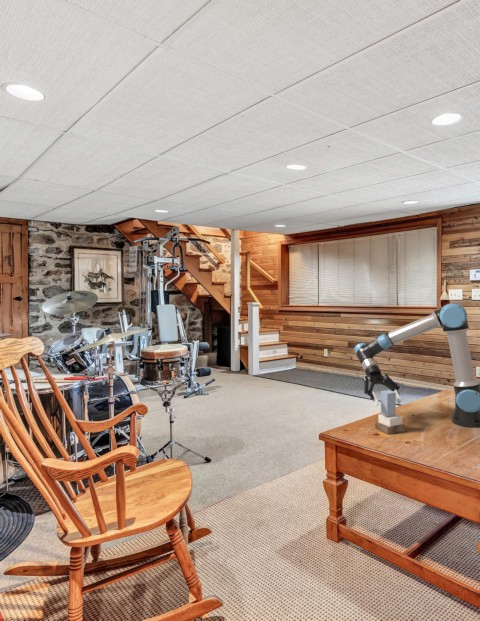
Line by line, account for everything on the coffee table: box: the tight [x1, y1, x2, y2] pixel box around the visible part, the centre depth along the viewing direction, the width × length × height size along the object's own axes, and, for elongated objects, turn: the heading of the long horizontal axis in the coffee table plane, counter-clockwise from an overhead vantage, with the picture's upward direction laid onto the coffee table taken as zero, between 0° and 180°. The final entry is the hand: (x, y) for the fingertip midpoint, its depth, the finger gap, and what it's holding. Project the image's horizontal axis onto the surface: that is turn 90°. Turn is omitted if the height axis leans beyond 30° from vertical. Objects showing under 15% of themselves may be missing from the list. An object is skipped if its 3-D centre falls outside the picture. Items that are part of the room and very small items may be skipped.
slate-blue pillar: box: [380, 389, 397, 417], centre depth 210 cm, size 5×5×12 cm
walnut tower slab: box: [374, 420, 406, 435], centre depth 211 cm, size 10×10×4 cm
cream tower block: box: [378, 413, 403, 427], centre depth 210 cm, size 8×8×4 cm
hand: (389, 403), depth 209 cm, fingers open, 13 cm apart
